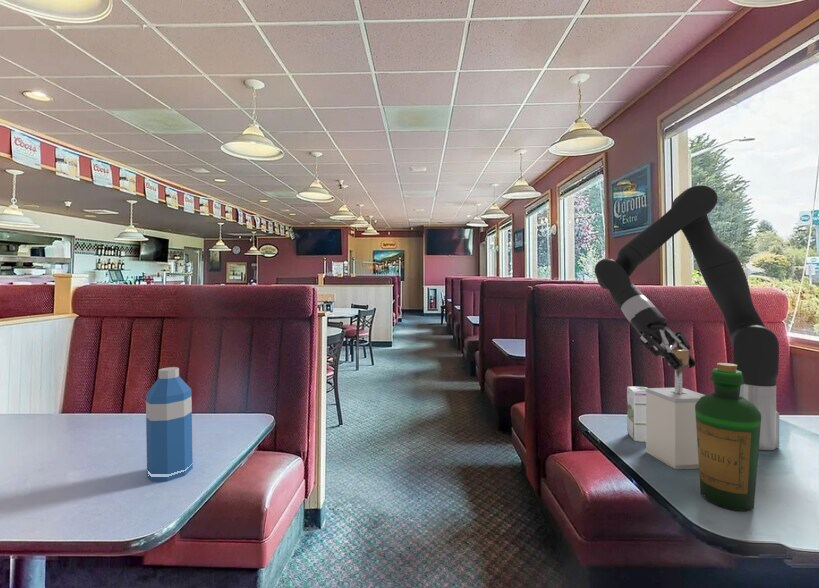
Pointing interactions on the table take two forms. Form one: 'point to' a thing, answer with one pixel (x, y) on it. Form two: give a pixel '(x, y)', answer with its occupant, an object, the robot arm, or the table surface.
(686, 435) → the white box
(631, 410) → the syrup box
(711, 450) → the bottle
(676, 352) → the brown round knob
